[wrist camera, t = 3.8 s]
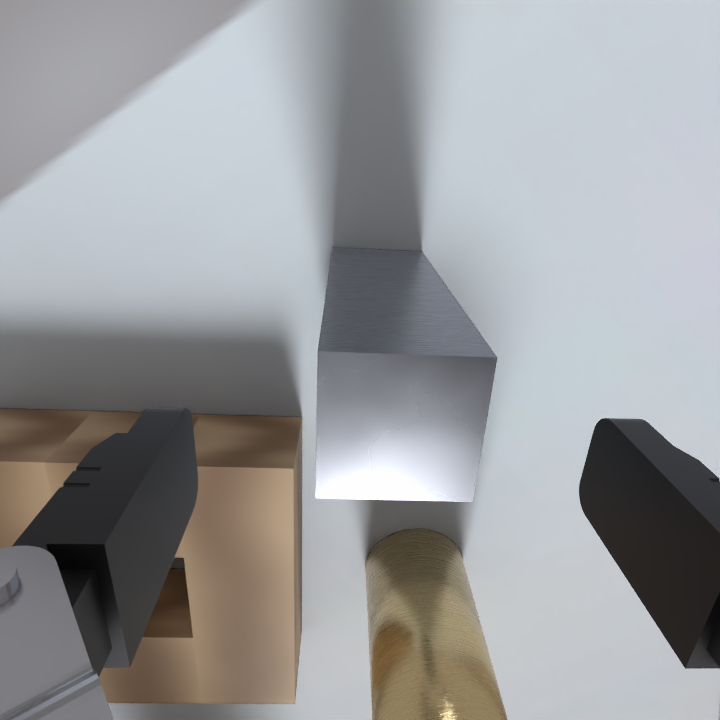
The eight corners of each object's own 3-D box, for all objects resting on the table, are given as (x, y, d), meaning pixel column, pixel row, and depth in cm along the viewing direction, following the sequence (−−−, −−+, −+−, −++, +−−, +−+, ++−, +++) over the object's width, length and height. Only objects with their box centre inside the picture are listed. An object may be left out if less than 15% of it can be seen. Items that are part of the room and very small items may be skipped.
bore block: (302, 417, 23) (293, 468, 19) (301, 632, 28) (294, 703, 25) (-12, 407, 22) (-82, 459, 19) (49, 629, 28) (4, 702, 24)
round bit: (468, 529, 26) (546, 775, 16) (456, 603, 28) (518, 862, 18) (368, 527, 26) (382, 775, 16) (363, 601, 28) (373, 863, 18)
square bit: (421, 251, 20) (497, 357, 10) (414, 335, 22) (473, 502, 11) (332, 247, 20) (318, 351, 10) (330, 331, 21) (315, 498, 11)
